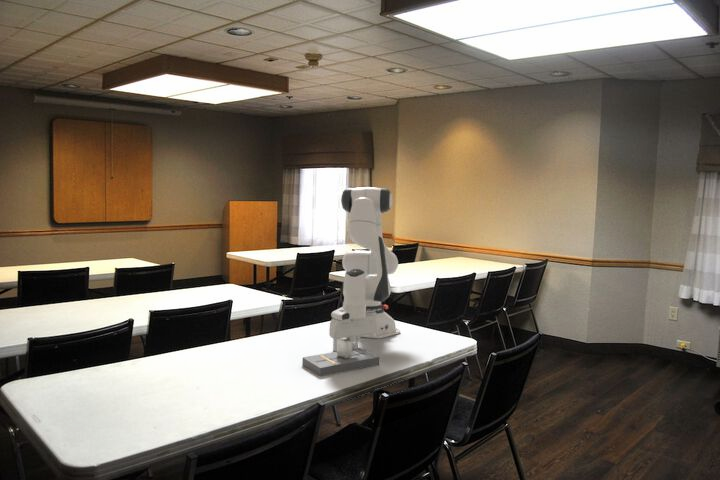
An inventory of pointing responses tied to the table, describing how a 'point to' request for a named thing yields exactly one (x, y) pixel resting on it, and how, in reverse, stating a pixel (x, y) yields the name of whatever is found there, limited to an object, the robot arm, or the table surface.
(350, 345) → the fader
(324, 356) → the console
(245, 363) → the table surface
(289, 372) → the table surface
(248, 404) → the table surface
